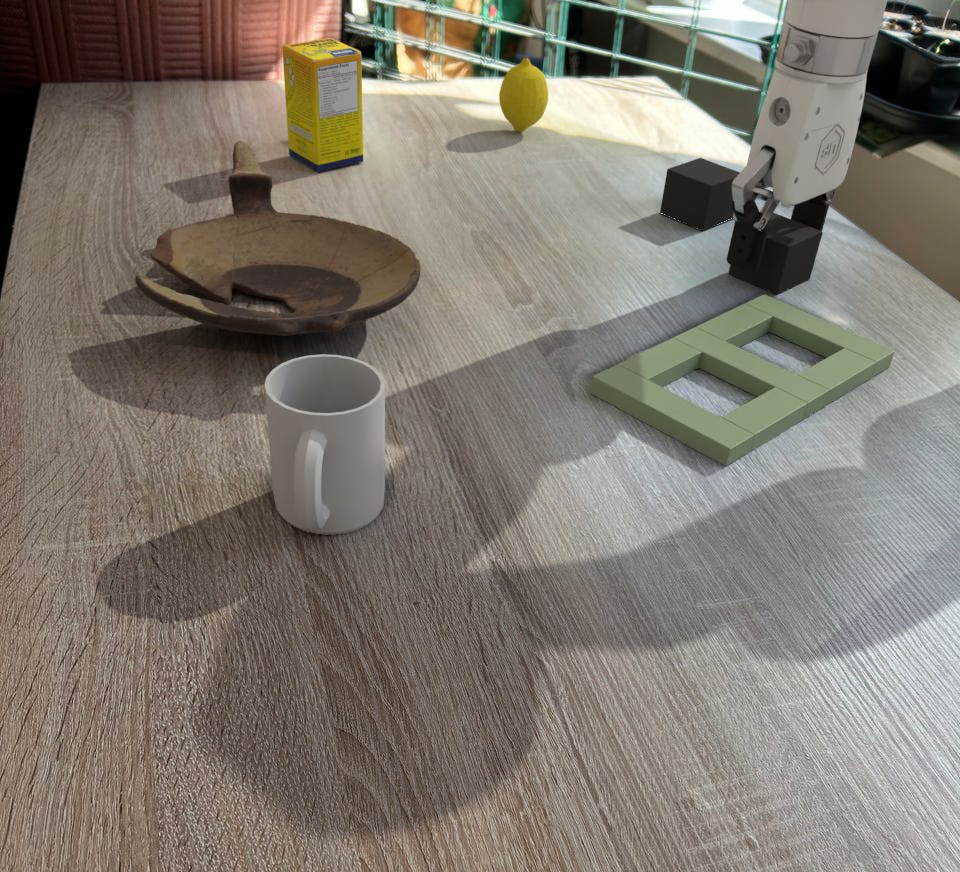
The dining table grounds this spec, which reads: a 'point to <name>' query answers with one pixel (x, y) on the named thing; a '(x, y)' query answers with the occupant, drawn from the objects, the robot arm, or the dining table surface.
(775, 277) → the black block
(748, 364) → the base board
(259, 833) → the dining table surface
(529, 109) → the fruit
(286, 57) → the supplement box
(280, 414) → the cup
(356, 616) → the dining table surface
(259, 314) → the broken clay pan
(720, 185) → the black square block
